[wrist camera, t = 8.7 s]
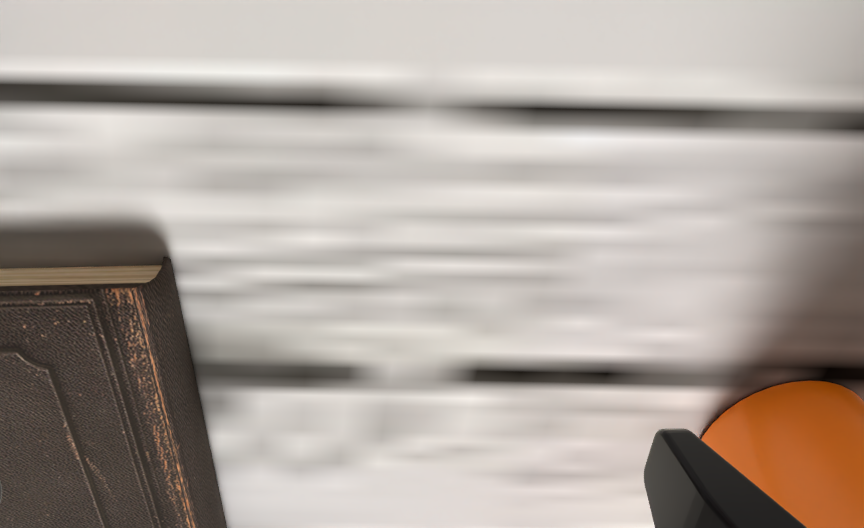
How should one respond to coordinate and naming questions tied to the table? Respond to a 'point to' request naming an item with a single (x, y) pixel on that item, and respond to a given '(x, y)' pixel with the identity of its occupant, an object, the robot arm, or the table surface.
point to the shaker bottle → (800, 449)
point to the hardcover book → (100, 403)
